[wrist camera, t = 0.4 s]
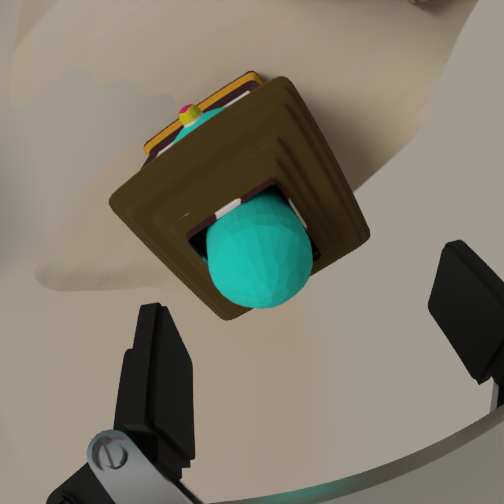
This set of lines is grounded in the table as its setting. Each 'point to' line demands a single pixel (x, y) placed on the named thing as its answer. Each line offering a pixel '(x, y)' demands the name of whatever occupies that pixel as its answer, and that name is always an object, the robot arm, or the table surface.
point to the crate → (417, 0)
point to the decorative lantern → (243, 197)
